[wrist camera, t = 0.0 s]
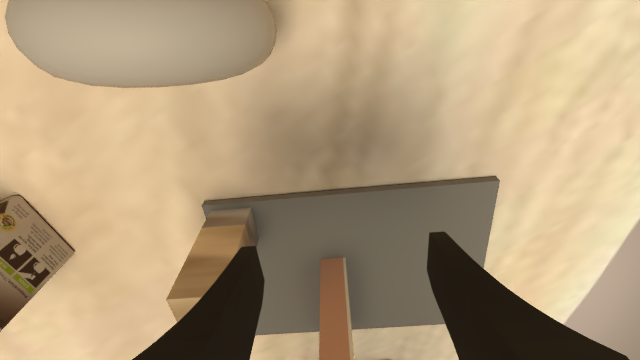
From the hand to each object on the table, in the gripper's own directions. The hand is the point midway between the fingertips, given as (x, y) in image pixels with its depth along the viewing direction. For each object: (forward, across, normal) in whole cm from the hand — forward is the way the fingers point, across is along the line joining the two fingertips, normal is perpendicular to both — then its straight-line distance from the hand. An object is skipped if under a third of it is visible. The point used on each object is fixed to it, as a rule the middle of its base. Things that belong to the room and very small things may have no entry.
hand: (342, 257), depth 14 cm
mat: (+10, 0, +10) cm, 15 cm away
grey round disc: (+10, +7, -9) cm, 15 cm away
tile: (+10, +1, +13) cm, 16 cm away
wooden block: (+10, +8, +5) cm, 13 cm away
